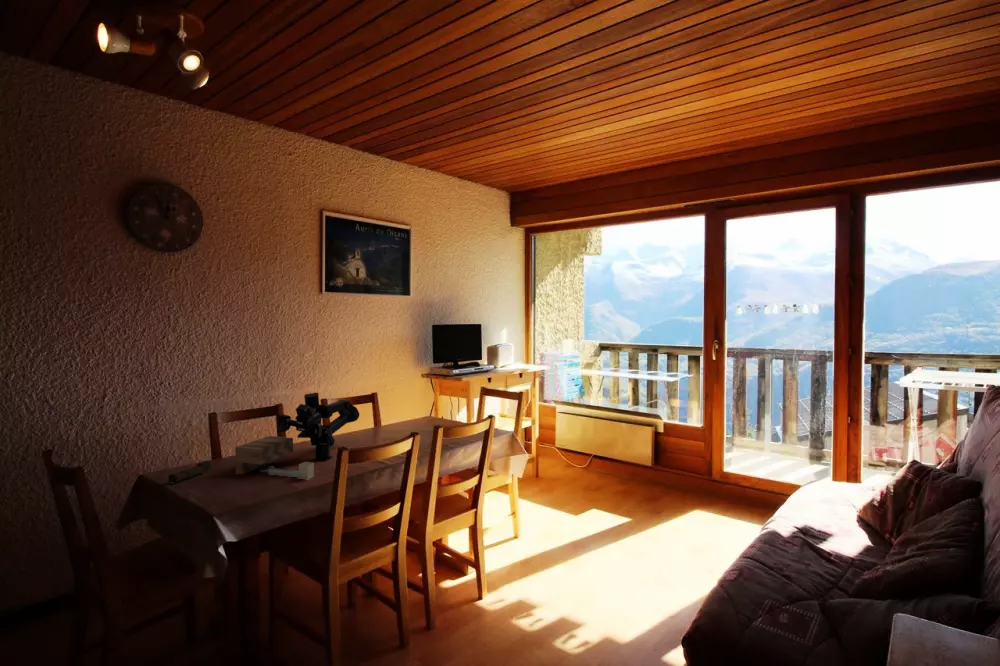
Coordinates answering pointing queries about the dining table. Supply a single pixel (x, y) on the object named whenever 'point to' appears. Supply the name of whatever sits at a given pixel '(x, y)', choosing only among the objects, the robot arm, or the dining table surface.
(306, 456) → the dining table surface
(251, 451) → the beige stepped block
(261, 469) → the steel token
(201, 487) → the dining table surface
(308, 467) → the blade tool
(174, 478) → the hand tool
